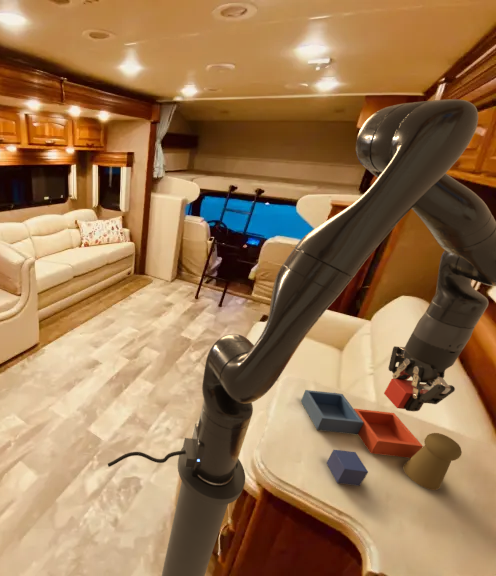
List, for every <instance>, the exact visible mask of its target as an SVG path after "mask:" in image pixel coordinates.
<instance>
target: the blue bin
mask: <svg viewBox="0 0 496 576" xmlns="http://www.w3.org/2000/svg"><path fill="white" fill-rule="evenodd" d="M300 402H301V404H302V406H303V408H304V409H305V412H306V413H307V415H308V417H309V418H310V420H311V422H312V424H313V425H314V427H315V429H316V430H317V431H323V432H332V433H339V434H340V433H341V434H349V435H357V436H358V432H359V431H360V429H361V427H362V425H363V423H364V422H363V421H362V420H361V418H360V417H359V416H358V414H357V413H356V412H355V410H354V409H355V408H354V407H353V406H352V405H351V404H350V402H349V401H348V399H347V397H345V395H344V394H343V393H338V392H330V391H329V392H327V391H318V390H312V389H311V390H309V389H305V390H304V393H303V394H302V398H301V400H300Z"/></svg>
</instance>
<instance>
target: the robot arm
mask: <svg viewBox="0 0 496 576" xmlns="http://www.w3.org/2000/svg"><path fill="white" fill-rule="evenodd" d="M478 125H479V112H478V109H477V107H476V106H475V104H474V103H472V102H470V101H469V100H465V99H455V98H454V99H453V98H452V99H438V100H437V99H436V100H435V99H434V100H425V101H414V102H404V103H397V104H394V105H390V106H386V107H383V108H381V109H380V110H377V111H376V112H374V113H373V114H372V115H370V116H369V117H368V118H367V119H366V121H364V123H363V124H362V126H361V128H360V129H359V132H358V134H357V136H356V140H355V153H356V156H357V159H358V161H359V162H360V164H361V165H362V166H363V167H364V168H365V169H366V170H367V171H369V172H370V173H371V174H372V175H374V177H376V179H375V180H374V182H373V183H372V184H371V185H370V187H369V188H368V189H367V190H366V191H365V192H364V193H363V194H362V195H361V196H360V197H359V198H358V199H356V201H354V202H353V203H351V204H350V205H348V207H346V208H344V209H343V210H342V211H340V212H338V213H337V214H335V215H333V216H332V217H329V219H327V220H325V221H324V222H322V223H321V224H319V225H317V226H316V227H314V228H313V229H312V230H310V231H309V232H308V233H306V234H305V235H304V236H303V237H302V238H301V239H300V240H299V241H298V243H297V244H296V245H295V247H294V248H293V249H292V251H291V252H290V254H289V255H288V256H287V258H286V259H285V261H284V262H283V263H282V264H281V266H280V268H279V269H278V271H277V273H276V275H275V279H274V282H273V287H272V292H271V298H270V306H269V312H268V316H267V321H266V323H265V326H264V328H263V330H262V332H261V334H260V336H259V338H258V339H257V341H256V342H255V344H253V342H252V341H250V340H249V338H247V337H246V336H244V335H241V334H239V333H230V334H226V335H223V336H221V337H220V338H218V339H217V340H216V341H214V343H213V345H211V347H210V348H209V351H208V352H207V356H206V360H205V364H204V371H203V376H202V377H203V378H202V384H201V392H202V398H203V401H202V406H201V410H200V414H199V418H198V423H194V428H193V432H192V437H191V438H190V437H184V439H183V445H182V448H183V449H184V450H182V451H181V450H177V451H172V452H170V453H167V454H166V455H165V456H164V457H163V458H156V457H153V456H152V455H149V454H147V453H145V452H141V451H131V452H126V453H124V454H122V455H121V456H119V457H117V458H116V459H114V460H112V461H110V462H107V467H108V468H110V467H112V466H114V465H116V464H117V463H119V462H121V461H123V460H124V459H127V458H129V457H135V456H138V457H143V458H145V459H147V460H149V461H151V462H154V463H157V464H164V463H166V462H167V461H168V460H169V459H171V458H172V457H176V456H179V455H182V454H184V458H185V467H191V473H192V476H193V477H197V478H198V479H199V480H201V481H202V482H204V483H205V484H207V485H210V486H214V487H222V486H225V485H227V484H229V483H230V482H231V480H232V478H233V475H234V471H235V467H236V469H237V466H238V463H237V460H238V459H239V457H240V454H241V451H242V448H243V445H244V443H245V439H246V436H247V432H248V429H249V426H250V423H251V419H252V416H253V413H254V407H253V403H254V402H256V401H258V400H259V399H261V398H262V397H264V395H266V394H267V393H268V392H269V391H270V390H271V389H272V388H273V386H274V385H275V384H276V382H277V381H278V379H279V378H280V376H281V375H282V374H283V372H284V370H285V369H286V367H287V366H288V364H289V362H290V360H291V359H292V358H293V356H294V355H295V353H296V351H297V350H298V349H299V346H300V345H302V344H301V343H302V342H303V341H304V340H305V338H306V337H307V336H308V334H310V332H311V331H312V329H313V328H314V326H315V325H316V323H318V321H319V320H320V318H321V317H322V316H323V315H324V314H325V312H326V311H327V310H328V308H329V307H330V306H331V305H332V304H333V303H334V302H335V301H336V299H337V298H338V297H339V296H340V295H341V293H342V292H343V291H344V290H345V289H346V288H347V286H348V285H349V284H350V283H351V281H352V280H353V278H355V277H356V275H357V274H358V272H359V271H360V270H361V268H362V266H363V265H364V264H365V262H366V261H367V260H368V259H369V258H370V256H371V255H372V254H373V253H374V252H375V251H376V249H377V248H378V247H379V245H381V243H382V242H383V241H384V240H385V238H386V237H387V236H388V235H389V234H390V233H391V231H392V230H393V229H395V227H396V226H397V225H398V224H399V222H400V221H401V220H402V219H403V218H404V217H405V216H406V215H407V214H408V213H409V211H413V212H414V214H416V215H417V217H418V218H419V220H421V221H422V222H423V224H424V225H425V226H426V228H427V229H428V231H429V233H430V234H431V236H432V237H433V238H434V239H435V241H436V242H437V244H438V245H439V246H440V247H441V249H442V250H443V252H442V254H441V256H440V259H439V264H438V270H437V271H438V272H437V278H436V279H437V280H436V287H435V292H434V295H433V297H432V299H431V301H430V303H429V304H428V306H427V308H426V310H425V312H424V313H423V314H422V316H421V317H420V318H419V320H418V322H417V324H416V325H415V327H414V329H413V331H412V333H411V334H410V336H409V338H408V340H407V341H406V344H405V346H393V347H392V351H391V355H390V360H389V363H388V371H389V372H392V379H402V380H410V378H412V386H413V392H412V396H410V397H409V399H408V401H407V402H406V404H405V406H404V408H405V409H404V410H405V411H407V412H418V410H419V409H420V410H421V408H422V407H423V405H424V404H430V405H431V404H432V405H438V404H439V403H440V402H442V401H443V400H444V399H446V398H447V397H449V396H450V395H451V394H453V393H454V392H455V390H456V388H455V386H454V385H452V384H448V383H447V382H446V381H445V379H444V378H445V373H446V370H447V369H449V368H450V367H452V366H454V364H455V363H456V361H457V359H458V358H459V356H460V355H461V353H462V352H463V350H464V349H465V347H466V345H467V344H468V342H469V341H470V339H471V337H472V335H473V332H474V330H475V328H476V326H477V324H478V323H479V321H480V320H481V318H482V317H483V315H484V313H485V312H486V310H487V309H488V307H489V299H488V298H487V297H486V296H485V295H484V294H482V293H481V292H479V291H478V290H476V289H475V288H474V287H473V285H472V281H474V282H477V283H480V284H483V285H486V286H490V287H496V219H495V217H494V215H493V214H492V212H491V210H490V208H489V207H488V205H487V204H486V203H485V201H484V200H483V198H481V197H480V196H479V195H478V194H477V193H476V192H474V191H473V190H472V189H470V188H469V187H468V186H466V185H464V184H463V183H461V182H459V181H458V180H456V179H455V178H454V177H452V176H451V175H449V174H447V173H448V171H449V170H451V168H452V167H453V166H454V165H455V164H456V163H457V161H458V160H459V159H460V158H461V156H462V155H463V153H464V152H465V150H467V148H468V146H469V145H470V143H471V141H472V139H473V137H474V135H475V134H476V130H477V128H478ZM397 363H398V365H397ZM396 365H397V366H396ZM422 389H423V393H420V391H421V390H422ZM423 403H424V404H423ZM421 406H422V407H421ZM420 410H419V411H420Z"/></svg>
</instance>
